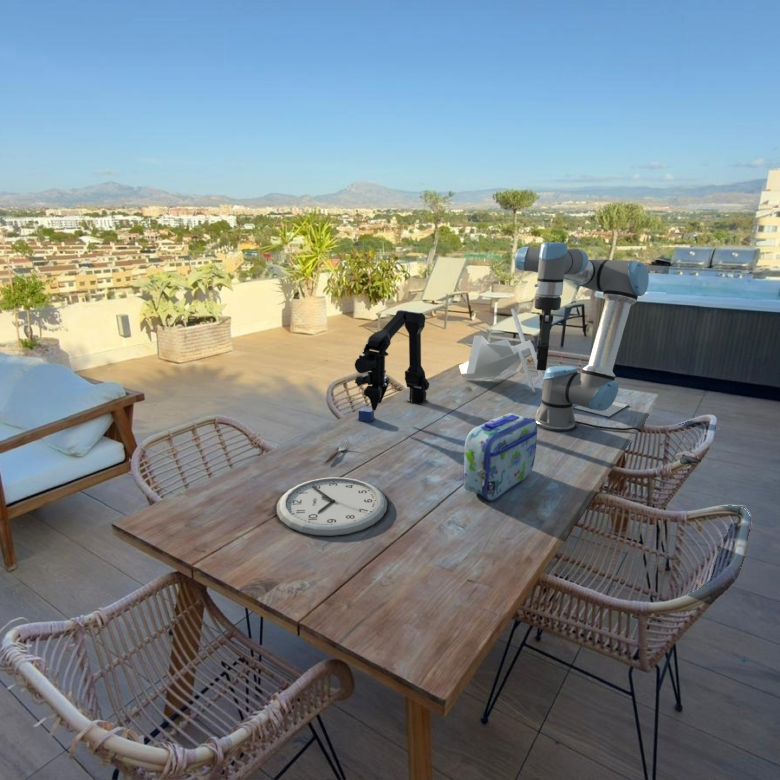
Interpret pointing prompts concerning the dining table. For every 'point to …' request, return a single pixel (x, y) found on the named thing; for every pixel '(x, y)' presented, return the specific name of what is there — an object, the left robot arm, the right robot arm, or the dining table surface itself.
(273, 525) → the dining table surface
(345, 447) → the fork
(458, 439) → the dining table surface
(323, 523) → the wall clock
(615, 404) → the invitation card
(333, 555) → the dining table surface
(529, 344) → the white plastic object
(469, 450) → the lunch box
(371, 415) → the brick
